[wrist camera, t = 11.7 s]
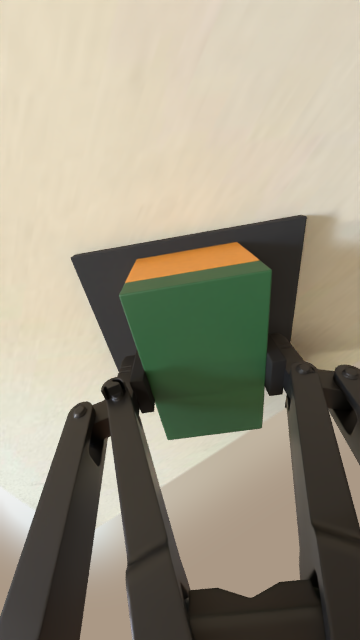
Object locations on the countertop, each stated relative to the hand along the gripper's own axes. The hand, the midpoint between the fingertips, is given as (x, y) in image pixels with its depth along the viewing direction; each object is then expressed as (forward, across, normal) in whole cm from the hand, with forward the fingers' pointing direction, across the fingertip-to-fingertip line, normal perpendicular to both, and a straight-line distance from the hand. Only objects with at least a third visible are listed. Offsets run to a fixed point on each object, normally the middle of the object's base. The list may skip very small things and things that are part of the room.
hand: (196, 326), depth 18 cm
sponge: (0, 0, 0) cm, 0 cm away
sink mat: (+1, 0, 0) cm, 1 cm away
